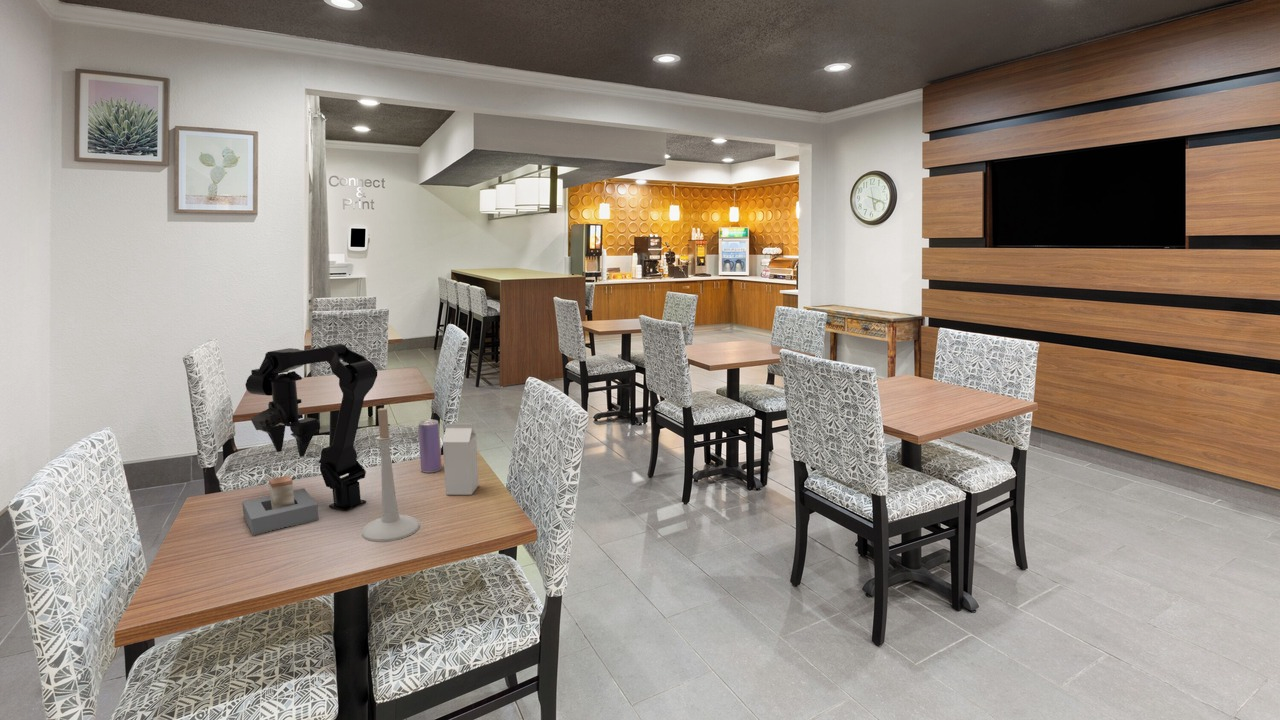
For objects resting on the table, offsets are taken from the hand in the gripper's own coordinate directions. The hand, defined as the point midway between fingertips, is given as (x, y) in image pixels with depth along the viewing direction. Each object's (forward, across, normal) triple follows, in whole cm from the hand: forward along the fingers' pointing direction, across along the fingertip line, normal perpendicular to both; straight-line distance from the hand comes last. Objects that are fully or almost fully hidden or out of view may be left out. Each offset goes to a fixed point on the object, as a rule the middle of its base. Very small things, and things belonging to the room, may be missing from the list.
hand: (290, 453), depth 170 cm
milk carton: (+12, +38, +23) cm, 46 cm away
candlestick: (+12, +40, -4) cm, 42 cm away
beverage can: (+12, +18, +32) cm, 39 cm away
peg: (+12, +11, -10) cm, 19 cm away
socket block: (+12, +10, -11) cm, 19 cm away
